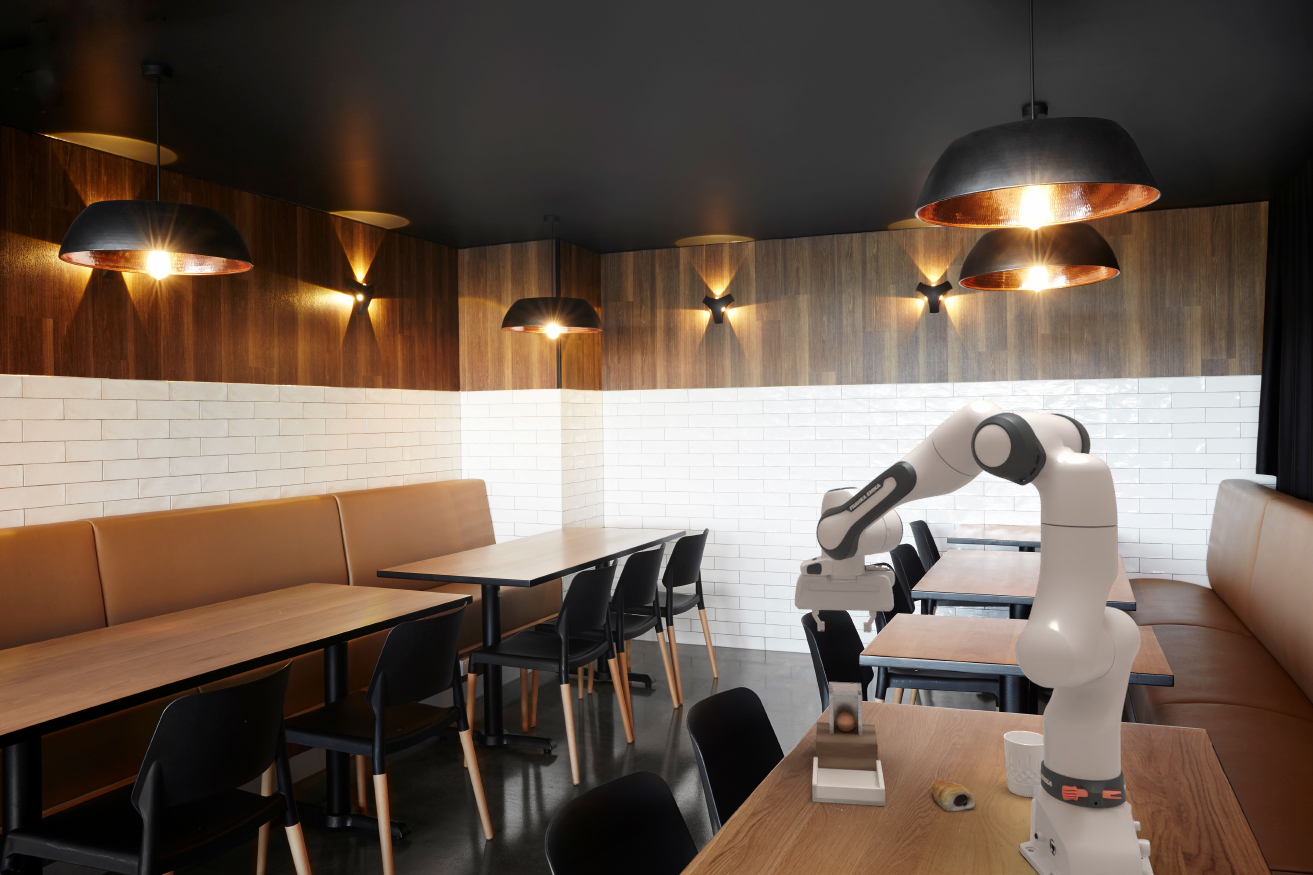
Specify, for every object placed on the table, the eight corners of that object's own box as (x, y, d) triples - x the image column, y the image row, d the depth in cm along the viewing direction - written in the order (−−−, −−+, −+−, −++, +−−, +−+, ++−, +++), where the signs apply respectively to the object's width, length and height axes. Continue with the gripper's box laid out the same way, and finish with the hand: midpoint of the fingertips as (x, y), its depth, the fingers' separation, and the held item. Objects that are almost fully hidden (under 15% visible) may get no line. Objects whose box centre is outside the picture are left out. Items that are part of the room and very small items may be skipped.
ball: (856, 734, 181) (855, 715, 181) (836, 733, 182) (835, 714, 182) (855, 728, 185) (855, 709, 185) (836, 727, 186) (835, 708, 186)
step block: (878, 774, 176) (877, 744, 176) (816, 770, 178) (816, 741, 178) (875, 752, 187) (874, 724, 187) (817, 749, 190) (816, 721, 190)
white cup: (1056, 789, 167) (1055, 736, 167) (1041, 802, 161) (1040, 747, 161) (1014, 779, 172) (1013, 727, 172) (997, 791, 166) (997, 738, 166)
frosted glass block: (862, 734, 181) (861, 691, 181) (829, 733, 182) (828, 689, 182) (861, 725, 187) (860, 682, 187) (829, 724, 188) (829, 681, 188)
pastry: (922, 792, 167) (921, 772, 167) (955, 790, 168) (955, 770, 168) (946, 813, 158) (945, 792, 158) (981, 810, 159) (981, 789, 159)
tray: (885, 805, 161) (885, 789, 161) (812, 801, 163) (812, 785, 163) (880, 775, 175) (880, 760, 175) (813, 771, 178) (813, 756, 178)
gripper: (893, 563, 186) (894, 629, 186) (794, 562, 189) (795, 626, 190) (895, 567, 179) (896, 635, 179) (793, 566, 183) (794, 633, 183)
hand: (844, 631), depth 185 cm, fingers open, 8 cm apart
